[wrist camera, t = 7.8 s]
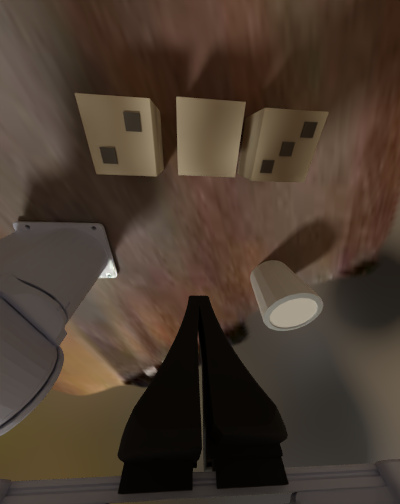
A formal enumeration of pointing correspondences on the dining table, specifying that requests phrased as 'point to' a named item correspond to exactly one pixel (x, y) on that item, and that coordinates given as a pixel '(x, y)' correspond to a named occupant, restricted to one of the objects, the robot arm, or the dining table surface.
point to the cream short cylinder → (283, 297)
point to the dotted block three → (280, 144)
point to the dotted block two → (122, 134)
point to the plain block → (208, 136)
